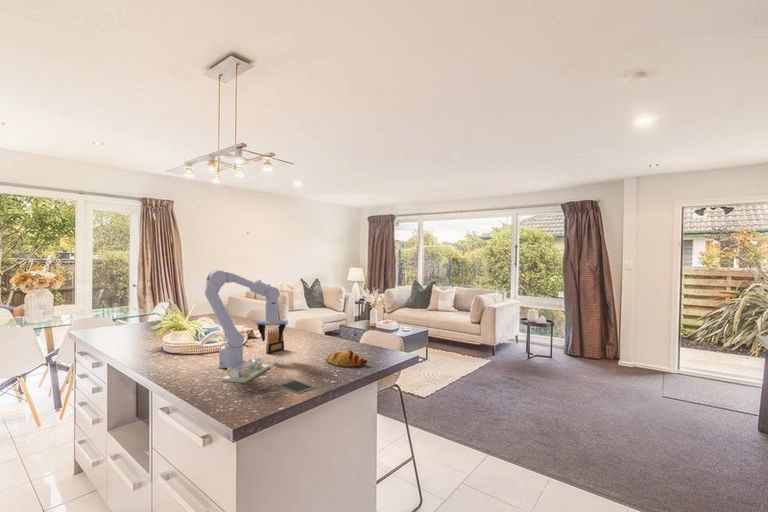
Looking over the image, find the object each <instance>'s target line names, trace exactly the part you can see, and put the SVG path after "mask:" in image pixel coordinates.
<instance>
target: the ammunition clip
mask: <svg viewBox="0 0 768 512" xmlns="http://www.w3.org/2000/svg"><path fill="white" fill-rule="evenodd" d="M266 339H267V340H266V346H265V347H266V349H265V351H266V353H265V354H266V355H271V354H275V353H277V352H281V351H284V350H285V341H284V333H283V334H282V338H281V341H279V328H278V327H277V328H275V329H270V330H267V338H266Z"/></svg>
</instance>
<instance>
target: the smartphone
mask: <svg viewBox="0 0 768 512" xmlns="http://www.w3.org/2000/svg"><path fill="white" fill-rule="evenodd" d="M274 386H276V387H279V388H281V389H284V390H286V391H290V392H292V393H293V394H294V393H295V394H297V395H300V394H304V393H306V392H309V391H312V390H315V389H316V386H313V385H311V384H308V383H305V382H302V381H300V380H296V379H294V378H290V379H286V380H284V381H280V382H276V383H275V384H274ZM311 389H312V390H311Z"/></svg>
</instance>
